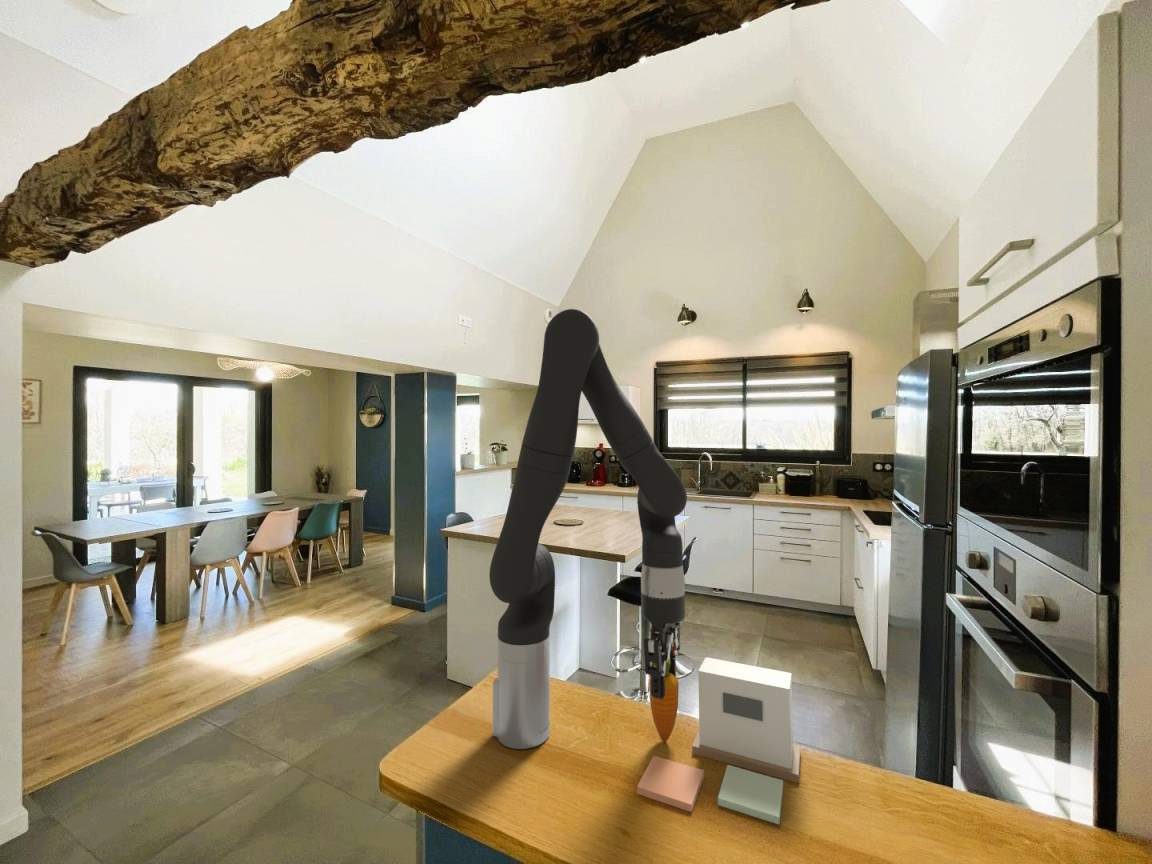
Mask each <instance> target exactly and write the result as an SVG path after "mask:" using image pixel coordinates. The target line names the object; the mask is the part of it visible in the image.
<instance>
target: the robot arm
mask: <svg viewBox="0 0 1152 864" xmlns="http://www.w3.org/2000/svg"><path fill="white" fill-rule="evenodd" d="M542 348H543V349H542V360H541V366H540V376H539V381H538V386H537V391H536V395H535V397H534V401H533V403H532V405H531V406H532V407H531V409H530V413H529V416H528V420H527V424H526V427H525V429H524V431H525V432H524V434H523V438H522V441H521V447H520V450H519V455H518V460H517V464H516V471H515V477H514V482H513V484H512V488H511V492H510V497H509V501H508V504H507V506H508V507H507V510H506V513H505V514H506V515H505V519H504V522H503V525H502V528H501V531H500V535H499V536H498V537H499V538H498V540H497V543H496V546H495V549H494V552H493V556H492V557H491V561H490V566H489V583H490V588H491V591H492V592H493V594H494V596H495V597H496V598H497V599H498V600H500V602H502V603H505V604H508V606H507V608H506V610H505V611H504V612H503V614H502V615H501V617H500V619H499V620H498V623H497V677H496V678H494V679H493V680H492V681H493V682H492V736H493V737H495V738H497V740H498V741H499V742H500V743H501V745H503V746H504V747H507V748H510V749H515V750H525V749H527V750H529V749H531V748H535V747H538V746H540V745H542V744H543V743H545V742H546V741H547V739H548V738H549V736H550V729H551V728H550V724H551V723H550V722H551V720H550V712H551V711H550V700H551V699H550V695H551V693H550V690H551V688H550V687H551V686H550V682H551V681H550V675H551V674H550V670H551V669H550V662H551V661H550V659H551V657H550V656H551V655H550V653H551V652H550V627H551V622H552V620H553V617H554V613H555V595H556V593H555V592H556V591H555V590H556V569H555V568H556V567H555V562H554V559H553V556H552V554H551V552H550V551H549V549H548V548H547V547H546V546H544V545H543V544H541V543H539V542H540V538H541V533H542V531H543V528H544V525H545V523H546V521H547V520H548V517H549V516H550V514H551V512H552V510H553V509H554V508H555V506H556V504H557V502H558V500H559V499H560V497H561V495H562V493H563V491H564V488H565V487H566V485H567V482H568V479H569V476H570V471H571V467H572V464H573V457H574V454H575V448H576V442H577V434H578V427H579V426H578V425H579V411H580V400H581V395H582V394H583V395H584V398H585V399H586V401H587V402H588V405H589V406H590V409H591V411H592V413H593V415H594V418H595V419H596V421H597V423H598V425H599V427H600V430H601V431H602V433H603V435H604V437H605V439H606V441H607V443H608V444H609V446H610V449H611V450H612V451H613V453H614V455H615V457H616V458H617V460H618V462H619V464H620V465H621V466H622V468H623V469H624V471H626V472H627V473H628V474H629V475H631V477H632V479H633V480H634V482H635V483H636V485H637V487H638V490H637V511H638V518H639V524H640V531H641V537H642V542H641V543H642V544H641V556H642V557H641V562H642V563H641V565H642V566H641V572H640V573H641V574H640V593H641V594H640V599H641V600H640V602H641V604H640V606H641V609H640V613H641V616H642V618H643V620H646V621H648V622H649V623H650V624H651V627H650V629H649V632H648V638H647V637H645V638H644V640H643V648H644V649H643V650H644V652H643V653H644V669H645V670H644V671H645V675H649V676H650V677H651V695H652V696H653V697H656V698H660V699H663V698H664V696H665V668H666V662H668V661H669V659H670V662H671V663H670V667H669V671H668V672H669V673H672V674H673V675H674V676H675V678H676V679H677V663H676V662H677V661H676V659H677V658H678V655H679V653H678V652H680V650H681V622H682V621H684V620H685V618H686V592H685V589H686V588H685V573H684V565H683V563H684V561H683V560H684V559H683V556H684V555H683V546H684V545H683V538H682V535H681V533H680V532H679V530H677V526H676V518H675V517H677V516H678V515H680V514H681V513H682V512H683V511H684V509H685V508H686V506H687V499H688V496H687V490H686V488H685V486H684V483H683V481H682V479H681V478H680V477H679V475H678V474H677V473H676V471H675V470H674V468H673V467H672V466H671V465H670V463H669V462H668V461H667V459H666V458H665V457H664V456H663V455H662V453H661V452H660V451H659V449H658V447H657V446H656V443H655V441H654V440H653V438H652V435H650V432H649V431H648V429H647V428H646V426H645V424H644V422H643V420H642V419H641V417H640V416H639V414H638V412H637V411H636V410H635V408H634V406H633V405H632V403H631V402H630V401H629V399H628V398H627V396H626V395H625V394H624V391H622V389H621V388H620V386H619V384H618V383H617V381H616V379H615V378H614V376H613V374H612V372H611V370H610V367H609V366H608V364H607V362H606V359H605V356H604V352H603V350H602V348H601V345H600V333H599V328H598V326H597V324H596V323H595V321H594V320H593V318H592V317H591V316H590V315H589V314H588V313H587V312H585V311H582V310H581V309H577V308H567V309H564V310H561V311H560V312H558V313H557V314H555V315H554V316H553V317H552V319H550V320H549V322H548V323H547V326H546V329H545V332H544V338H543V347H542ZM661 652H662V654H663V655H661ZM655 663H656V665H657V667H656V666H654V664H655Z"/></svg>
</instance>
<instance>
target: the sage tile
mask: <svg viewBox="0 0 1152 864" xmlns="http://www.w3.org/2000/svg"><path fill="white" fill-rule="evenodd" d="M783 792H784V779H781V778H777V777H774V776H772V777H771V776H770V775H767V774H763V773H759V772H756V771H752V770H749V769H745V768H744V769H743V768H742V767H738V766H735V765H731V764H727V765H726V768H725V773H724V776H723V780H722V782H721V786H720V789H719V792H718V796H717V806H720V807H723V808H726V809H729V810H732V811H736V812H738V813H742V814H744V815H748V816H751V817H755V818H757V819H760V820H763V821H765V822H769V823H773V824H776V825H778V826H779V825H780V824H781V823H780V822H781V815H782V814H781V811H782V805H783V802H782V801H783V794H784V793H783Z"/></svg>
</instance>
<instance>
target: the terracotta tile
mask: <svg viewBox="0 0 1152 864" xmlns="http://www.w3.org/2000/svg"><path fill="white" fill-rule="evenodd" d="M704 778H705V770H704V769H700V768H698V767H693V766H691V765H686V764H683V763H681V762H678V761H677V762H676V761H674V760H670V759H668V758H667V759H666V758H664V757H660V756H656V755H653V756H652V758H651V760H650V762H649V763H648V765H647V767H646V769H645V771H644V773H643V774H642V777H641V778H640V780H639V782H638V784H637V786H636V794H637V795H641V796H643V797H645V798H649V799H651V800H655V801H657V802H661V803H663V804H667V805H670V806H672V807H676V808H678V809H682V810H684V811H687V812H690V813H692V812H693V810H694V808H695V804H696V801H697V799H698V796H699V793H700V790H701V787H702V784H703V782H704Z"/></svg>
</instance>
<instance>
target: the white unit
mask: <svg viewBox="0 0 1152 864" xmlns="http://www.w3.org/2000/svg"><path fill="white" fill-rule="evenodd" d="M697 674H698V722H699V723H698V725H699V726H698V727H699V728H698V731H697V734H696V736H695V737H694V738H695V739H694V740H693V743H692V744H691V745H692V746H691V752H692V754H693V755H697V756H701V757H704V758H708V759H711V760H715V761H718V762H721V763H725V764H727V765H731V766H735V767H738V768H742V769H743V768H744V769H745V770H749V771H752V772H756V773H759V774H763V775H766V776H770V777H771V776H772V777H774V778H777V779H781V780H786V781H789V782H793V783H796V784H799V781H800V767H801V764H800V763H801V745H798V744H795V743H794V728H793V727H794V726H793V725H794V724H793V723H794V720H793V719H794V718H793V716H794V715H793V681H792V679H793V678H792V677H793V676H792V672H787V671H782V670H777V669H772V668H771V669H770V668H765V667H761V666H755V665H750V664H746V663H739V662H733V661H729V660H724V659H718V658H713V657H712V658H711V657H707V656H705V658H704V660H703V662H702V663H701V665H700V667H699V669H698V673H697ZM792 745H794V746H797V747H793V746H792ZM798 747H800V748H798Z"/></svg>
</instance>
